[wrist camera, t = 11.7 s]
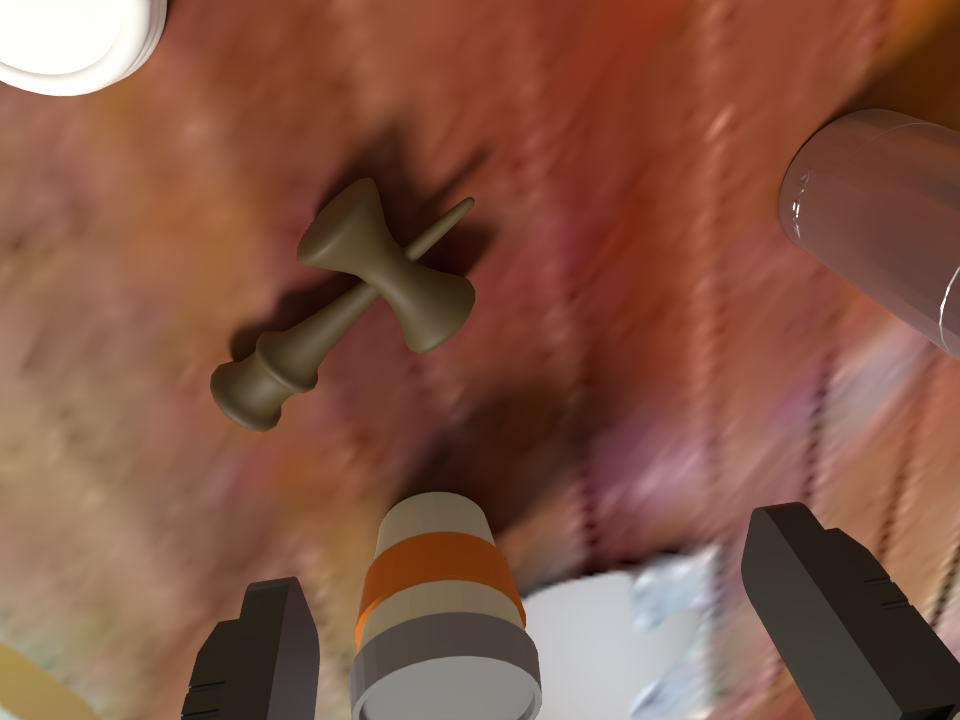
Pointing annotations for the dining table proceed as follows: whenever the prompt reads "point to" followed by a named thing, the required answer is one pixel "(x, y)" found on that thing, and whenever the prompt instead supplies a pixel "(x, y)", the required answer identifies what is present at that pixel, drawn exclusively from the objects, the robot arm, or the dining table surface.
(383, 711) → the reusable coffee cup
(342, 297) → the kendama
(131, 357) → the dining table surface
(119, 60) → the white round tin
